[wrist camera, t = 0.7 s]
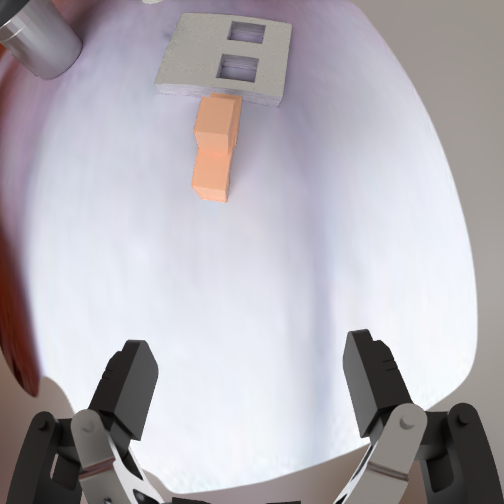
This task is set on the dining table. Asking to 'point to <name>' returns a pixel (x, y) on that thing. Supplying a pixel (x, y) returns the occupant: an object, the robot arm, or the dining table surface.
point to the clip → (215, 144)
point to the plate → (225, 57)
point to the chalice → (151, 1)
